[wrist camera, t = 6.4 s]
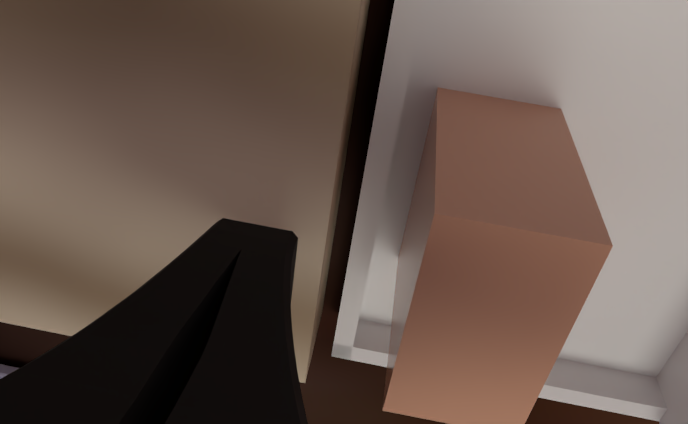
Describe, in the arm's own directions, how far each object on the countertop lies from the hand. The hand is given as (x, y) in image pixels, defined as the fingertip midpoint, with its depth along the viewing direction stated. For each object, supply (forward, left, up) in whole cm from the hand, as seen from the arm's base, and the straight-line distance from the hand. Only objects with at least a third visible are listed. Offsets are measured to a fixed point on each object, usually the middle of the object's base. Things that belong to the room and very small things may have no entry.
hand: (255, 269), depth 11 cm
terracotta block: (0, -3, -1) cm, 3 cm away
